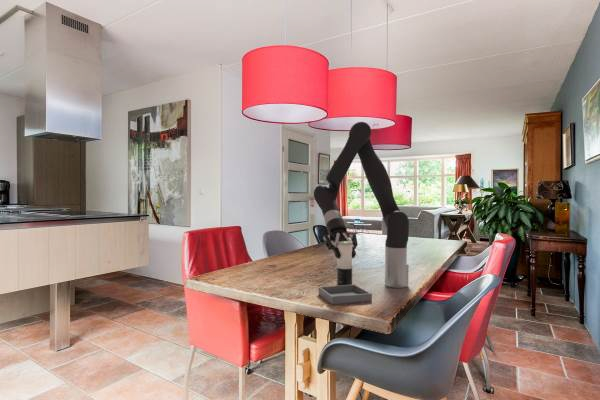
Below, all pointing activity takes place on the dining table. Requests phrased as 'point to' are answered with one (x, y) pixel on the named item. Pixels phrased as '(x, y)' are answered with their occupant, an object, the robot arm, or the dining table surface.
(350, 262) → the green capped canister
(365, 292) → the tray
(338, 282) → the supplement bottle
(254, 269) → the dining table surface
